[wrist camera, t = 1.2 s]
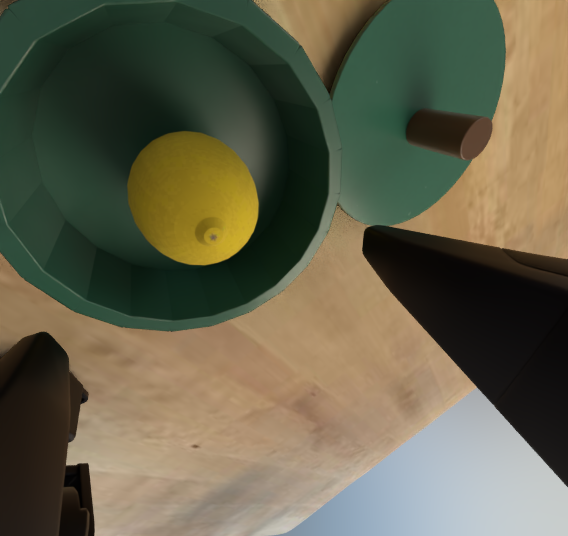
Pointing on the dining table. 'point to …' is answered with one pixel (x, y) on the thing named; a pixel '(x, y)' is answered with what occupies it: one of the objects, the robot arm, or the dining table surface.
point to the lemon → (192, 198)
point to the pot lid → (415, 104)
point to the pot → (144, 129)
